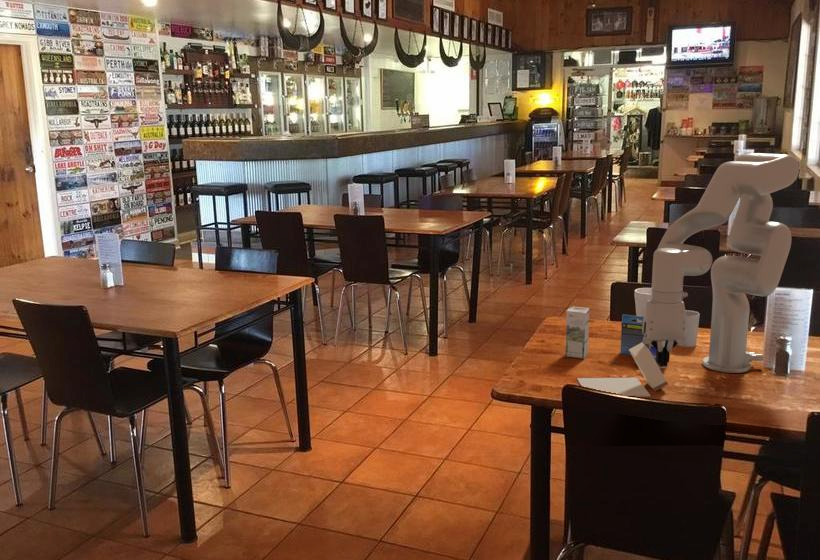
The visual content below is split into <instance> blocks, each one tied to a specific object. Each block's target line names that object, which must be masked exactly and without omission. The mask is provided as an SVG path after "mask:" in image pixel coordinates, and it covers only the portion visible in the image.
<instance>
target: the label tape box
mask: <svg viewBox="0 0 820 560" xmlns="http://www.w3.org/2000/svg"><path fill="white" fill-rule="evenodd" d="M621 319H622V320H621V330H620V331H621V334H620V354H621V355H631V353H630V351H629V349H631V348H632V347H634V346H636V345H638V344H640V343H642V342H643V341H642V340H643V337H644V335H643V333H642V327H643V319H644V317H641V316H636V315H631V314H622V316H621ZM637 319H638V320H641V321H642V322H637ZM633 320H634V321H633ZM635 320H636V321H635ZM643 344H644V345H645V346H646V347H647V348H648V349H649V345H648V344H645V343H643ZM631 356H632V355H631Z"/></svg>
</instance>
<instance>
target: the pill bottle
mask: <svg viewBox="0 0 820 560" xmlns="http://www.w3.org/2000/svg"><path fill="white" fill-rule="evenodd" d="M664 344H665V341H662V348H663V347H664ZM649 350H650V352H651V354H652V356H653V357H654V359H655V361H656V348H655V347H654V346H653V345H649ZM656 363H657V362H656ZM668 363H669V362H668ZM668 363H667V366H669V364H668ZM657 365H658V367H659V368H660V370H661V369H667V367H665V366H663V367H661V366H660V365H659V364H658V363H657Z"/></svg>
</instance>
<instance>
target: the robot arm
mask: <svg viewBox="0 0 820 560" xmlns="http://www.w3.org/2000/svg"><path fill="white" fill-rule="evenodd" d="M799 173H800V165H799V161H798V160H797V158H796V157H794V156H793V155H791V154H784V153H783V154H781V153H763V152H762V153H761V152H755V153H754V152H751V153H750V152H749V153H743V154H739V155H738V156H737V157H736V158H735V159H734V161H726V162H723V163H721V164H720V165H719V166H718V167H717V168H716V171H715V172H714V173H713V175H712V178H711V180H710V181H709V183H708V184H707V187H706V189H705V191H704V193H703V194H702V196H701V198H700V200H699V202H698V204H697V205H696V206H695V207H694V208H692V209H691V210H689V211H688V212H686V213H685V214H683V215H682V216H681V217H679V218H678V219H676V220H675V221H674V222H673V223H672V224H671V225H670V226H669V227H668V228H667V229H666V231H665V232H664V235H663V236H662V238H661V240H660V242H659V244H658V246H657V248H656V249H655V251H654V252H653V256H652V257H653V258H652V274H651V275H652V276H651V288H652V289H651V300H648V301H647V304H646V308H645V313H644V319H643V327H642V333H643V335H644V337H643V340H642V341H643V343H645V344H648V345H653V346H654V347H655V348H656V362H657V363H658V364H659V365H660V366H661V367H663V366H665V367H666V368H667V367H668V365H667V363H670V355H671V354H670V352H672V351H673V349H674V348H675V347H676V346H680V345H679V344H683V343H685V335H686V313H685V310H686V308H685V307H686V306H685V302H684V301H683V300H684V298H688V296H689V295H688V292H687V291H684V290H683V287H684V277H685V276H691V277H696V276H702V275H704V274H706V273H708V272H709V270H710V281H711V287H712V306H711V307H712V308H711V322H710V334H709V335H710V336H709V348H708V355H707V356H705V357H703V358H702V365H703V366H704V367H705V368H707V369H709V370H712V371H715V372H720V373H727V374H728V373H730V374H740V373H741V374H742V373H745V372H748V371H750V370H751V368H752V363H751V362H753V361H756V362H762V361H764V355H763V353H755V352H754V351H752V352H751V351H750V352H748V351H747V344H748V342H747V341H748V331H749V330H748V329H749V322H750V321H749V320H750V319H749V318H750V302H749V300H748V297H747V295H751V296H759V297H769V296H771V295H772V294H774V292H775V291H776V289H777V287H778V285H779V283H780V281H781V277H782V274H783V272H784V270H785V269H784V268H785V265H786V263H787V259H788V256H789V253H790V250H791V247H792V246H791V245H792V233H791V230H790V228H789V227H788V225H786V224H784V223H782V222H779V221H770V218H771V214H772V212H773V208H774V203H773V197H772V196H771V194H772V193H775V192H778V191H779V190H783V189H785V188H788V187H789V186H791V185H792V184H794V182H795V181H796V180H797V178H798V176H799ZM738 201H739V205H738V207H737V211H736V213H735V216H734V219H733V222H732V225H731V228H730V231H729V235H728V240H727V241H728V246H729V248H730V249H731V250H733V251H735V252H737V253H741V254H747V255H753V256H758V257H759V256H760V259H756V258H749V257H743V256H740V255H738V256H737V255H722V256H720V257H718V258H717V259H715V260H714V261H713V255H712V253H711V252H710V251H709V250H708V249H706V248H704V247H702V246H696V245H690V244H685V243H684V242H685V241H686V240H687V239H688V238H689V237H691V236H693V235H695V234H698V233H700V232H701V231H704V230H709V229H711V228H714V227H718V226H721V225H723V224H726V223H727V222H728V221H729V219H730V217H731V215H732V213H733V211H734V209H735V208H736V206H737V203H738ZM662 341H665V344H664V347H663V348H662Z"/></svg>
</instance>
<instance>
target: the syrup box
mask: <svg viewBox="0 0 820 560" xmlns="http://www.w3.org/2000/svg"><path fill="white" fill-rule="evenodd" d="M565 321H566V325H565V357H566V358H573V359H581V360H584V359H585V358H586V357H587V355H588V354H589V330H590V329H589V326H590V324H589V323H590V307H581V306H570V307H568V309H567V310H566V319H565Z"/></svg>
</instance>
